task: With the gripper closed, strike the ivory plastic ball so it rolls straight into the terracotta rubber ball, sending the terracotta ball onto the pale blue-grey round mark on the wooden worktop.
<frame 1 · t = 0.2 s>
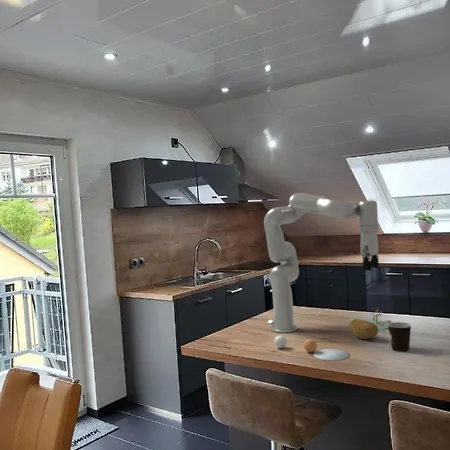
hand: (371, 268, 206), 31 cm above the countertop, tool pointing down, fingers open, 9 cm apart
cue ball: (280, 341, 204), on the countertop
potato: (364, 339, 210), on the countertop
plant: (371, 325, 235), on the countertop
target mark: (331, 354, 191), on the countertop
object ball: (310, 345, 196), on the countertop
coffee mug: (401, 349, 193), on the countertop
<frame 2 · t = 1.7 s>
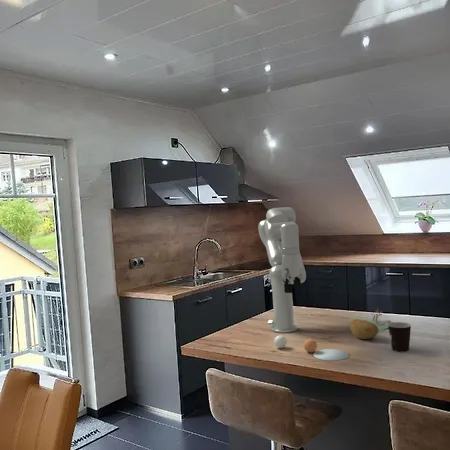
hand: (292, 290, 208), 23 cm above the countertop, tool pointing down, fingers open, 9 cm apart
nothing on the countertop moved.
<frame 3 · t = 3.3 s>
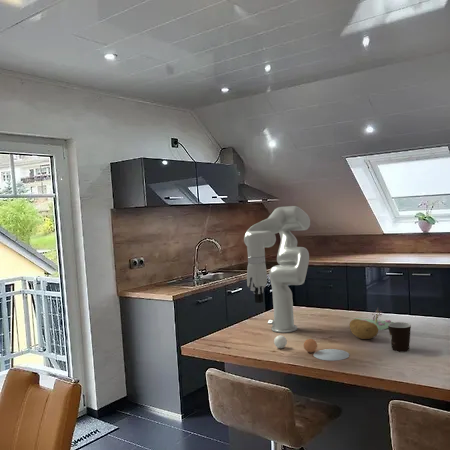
hand: (259, 302, 209), 19 cm above the countertop, tool pointing down, fingers closed
nothing on the countertop moved.
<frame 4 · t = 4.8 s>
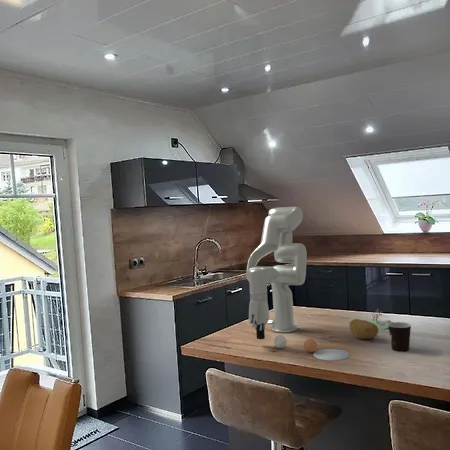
hand: (260, 338, 209), 3 cm above the countertop, tool pointing down, fingers closed
nothing on the countertop moved.
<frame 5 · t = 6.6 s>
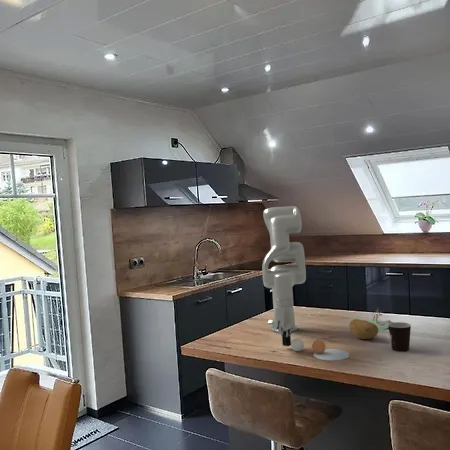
hand: (286, 345, 202), 2 cm above the countertop, tool pointing down, fingers closed
cue ball: (297, 344, 198), on the countertop
object ball: (318, 346, 194), on the countertop
everything else where it was.
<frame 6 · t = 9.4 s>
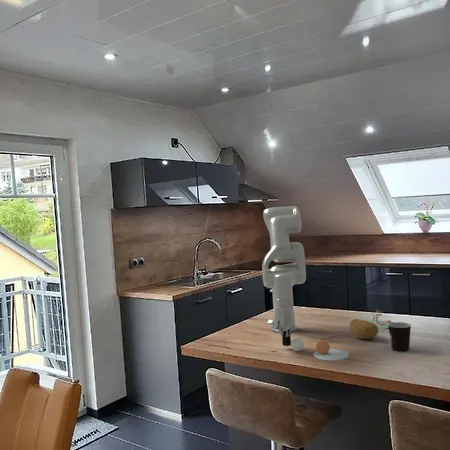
hand: (286, 345, 202), 2 cm above the countertop, tool pointing down, fingers closed
object ball: (322, 347, 193), on the countertop
everything else where it was.
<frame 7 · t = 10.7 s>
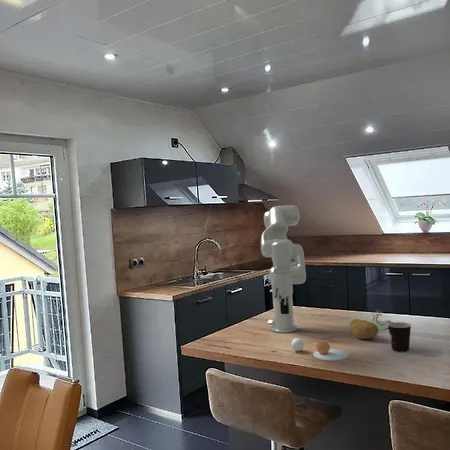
hand: (284, 313, 202), 15 cm above the countertop, tool pointing down, fingers closed
nothing on the countertop moved.
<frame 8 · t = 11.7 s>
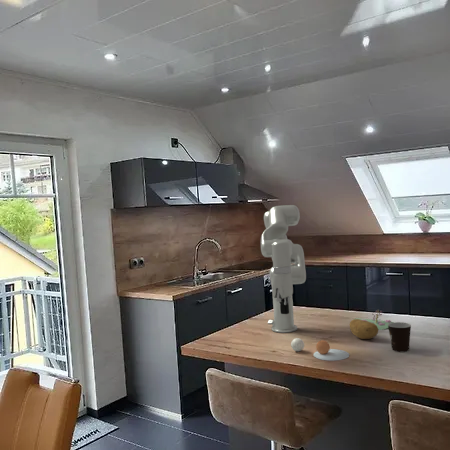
hand: (284, 313, 202), 15 cm above the countertop, tool pointing down, fingers closed
nothing on the countertop moved.
at the end: object ball 3.5 cm from the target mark (horizontally); object ball never touched the robot; cue ball first touched object ball at 6.1 s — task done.
